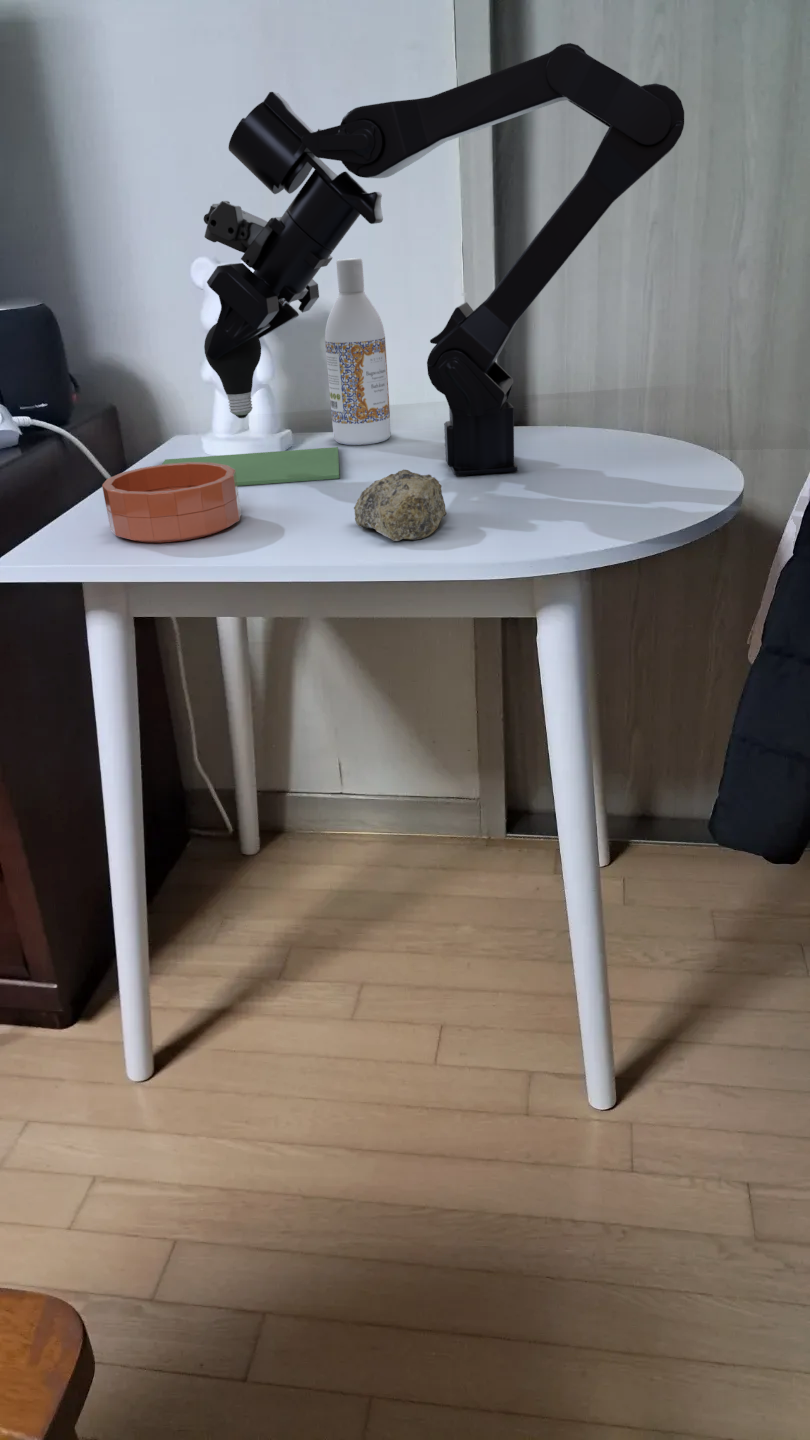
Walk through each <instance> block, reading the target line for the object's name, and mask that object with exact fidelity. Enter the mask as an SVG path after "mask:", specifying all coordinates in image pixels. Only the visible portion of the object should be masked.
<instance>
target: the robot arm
mask: <svg viewBox="0 0 810 1440" xmlns="http://www.w3.org/2000/svg"><path fill="white" fill-rule="evenodd" d="M562 101H567V102H570V103H571V104H572V105H574V106H575V107H577V108H578V109H580V110H582V111H583V112H585V113H586V114H587V115H589V116H591V117H592V118H594V119H595V120H597V121H599V122H600V123H602V124H603V125H605V126H606V127H608V129H607V131H606V132H605V134H604V136H603V138H602V140H601V141H600V143H599V145H598V147H597V149H596V151H595V153H594V154H593V157H592V159H591V160H590V163H589V164H588V166H587V168H586V170H585V172H584V174H583V176H582V177H580V179H579V180H578V182H577V183H576V184H575V185H574V187H573V188H572V190H571V191H570V192H569V193H568V195H567V196H566V197H565V198H564V200H563V201H562V202H561V203H560V205H559V206H558V207H557V209H556V210H555V211H554V212H553V214H552V215H551V216H550V217H549V219H548V220H547V221H546V223H545V224H544V225H543V227H542V228H541V229H540V230H539V231H538V233H536V235H535V237H534V238H533V239H532V240H531V242H530V243H529V244H528V246H526V249H524V251H523V252H522V253H521V254H520V256H519V257H518V259H516V261H515V263H514V264H513V265H512V266H511V267H510V269H509V270H508V271H507V273H506V274H505V275H504V276H503V277H502V279H501V280H500V282H499V283H498V284H497V285H496V286H495V288H494V289H493V290H492V291H491V292H490V294H489V295H488V297H487V298H486V299H485V300H484V301H483V302H482V303H481V304H480V305H479V306H478V307H476V308H475V309H473V308H472V307H471V306H470V304H469V303H468V301H464V302H463V303H461V304H460V305H458V306H456V307H455V308H454V310H453V312H452V313H451V315H450V317H449V320H447V323H446V324H445V326H444V328H443V329H442V330H441V331H440V332H439V333H438V334H436V335H435V336H434V337H433V338H431V339H430V340H429V343H430V344H433V345H434V346H433V347H432V348H431V350H430V352H429V355H428V356H427V361H426V368H427V375H428V378H429V382H430V383H431V385H432V386H433V387H434V388H435V390H437V391H438V392H439V393H440V394H442V395H444V397H445V399H446V402H447V404H448V412H449V415H448V416H449V421H445V422H444V423H443V426H444V429H443V431H444V451H445V453H444V454H445V462H446V465H447V466H448V467H449V468H450V469H451V470H452V472H453V475H454V476H470V475H471V476H472V475H483V474H497V473H508V472H509V473H511V472H518V469H519V467H518V464H517V463H516V461H515V417H514V416H515V407H514V406H513V405H512V404H511V403H510V402H508V401H507V400H508V399H509V397H510V394H511V391H512V388H513V386H514V382H515V381H514V378H513V377H512V376H511V375H510V374H509V373H508V372H507V371H506V370H505V369H504V368H503V367H502V366H501V365H500V364H499V363H498V362H497V360H498V358H499V355H500V354H501V352H502V351H503V349H504V347H505V345H506V343H507V341H508V340H509V338H510V336H511V333H512V332H513V330H514V329H515V326H516V324H517V322H518V321H519V320H520V318H521V317H522V316H523V315H524V313H526V311H527V310H528V308H529V307H530V306H531V305H532V304H533V302H534V301H535V300H536V299H537V298H538V297H539V295H540V293H541V292H543V290H544V289H545V288H546V286H547V285H548V284H549V283H550V281H551V280H552V279H553V278H554V276H555V275H556V274H557V272H558V271H559V270H560V269H561V268H562V266H563V265H564V264H565V263H566V261H567V260H568V259H569V257H571V255H572V254H573V253H574V251H576V249H577V248H578V246H579V245H580V244H581V243H582V241H583V240H584V239H585V238H586V237H587V236H588V234H589V233H590V231H592V230H593V228H594V227H595V225H596V224H597V223H599V221H600V220H601V218H602V217H603V216H604V215H605V213H606V212H607V211H608V209H609V208H610V207H611V206H612V204H613V203H614V202H615V201H617V199H618V198H620V197H621V196H622V195H623V194H624V193H625V192H626V191H628V190H629V189H630V188H632V186H633V185H635V183H637V182H638V181H639V180H640V179H641V178H642V177H643V176H645V174H647V173H648V172H649V171H650V170H651V169H652V168H653V167H655V165H657V164H658V163H659V162H660V161H661V160H662V159H663V158H664V157H665V156H666V155H668V154H669V153H670V152H671V151H672V150H673V149H674V148H675V146H676V144H677V142H678V141H679V140H680V138H681V136H682V133H683V130H684V127H685V110H684V106H683V103H682V100H681V98H680V97H679V95H677V93H676V91H675V90H673V89H671V88H670V87H669V86H667V85H665V84H660V83H650V84H644V85H639V84H637V82H635V81H633V80H632V79H630V78H628V77H627V76H625V75H623V74H622V73H620V72H619V71H617V70H615V69H613V68H611V67H610V66H608V65H606V64H604V63H602V62H601V61H599V60H597V59H595V58H594V57H592V56H591V55H589V54H588V53H587V52H586V51H585V49H584V48H583V47H581V46H580V45H579V44H576V43H571V42H569V43H561V44H560V45H557V46H556V47H555V48H554V49H551V51H549V52H547V53H544V54H542V55H539V56H536V57H534V58H531V59H528V60H525V61H523V62H520V63H517V64H514V65H512V66H509V67H507V68H504V69H502V70H499V71H496V72H493V73H491V74H488V75H485V76H483V77H480V78H477V79H473V80H472V81H469V82H466V83H464V84H461V85H458V86H455V87H453V88H451V89H447V90H445V91H442V92H439V93H437V94H434V95H431V96H427V97H421V98H414V99H403V100H393V101H386V102H380V103H373V104H368V105H367V104H366V105H362V106H357V107H354V108H353V109H351V110H350V111H348V112H347V113H346V114H345V115H344V116H343V117H342V119H341V122H340V124H339V125H336V126H332V127H331V126H330V127H328V128H323V129H322V128H318V129H317V130H316V131H314V130H313V129H312V128H311V127H310V126H309V125H308V124H307V123H306V122H305V121H304V120H303V119H302V118H301V117H300V116H299V115H298V114H297V113H296V112H295V111H294V109H292V107H291V106H290V104H289V103H288V101H287V100H286V99H285V98H284V97H283V96H282V95H281V94H280V93H279V92H275V91H269V92H268V94H267V95H266V97H265V99H263V101H261V102H260V103H259V104H257V105H256V106H255V107H253V109H252V110H251V111H250V112H249V113H248V114H247V115H246V117H242V118H241V119H240V121H239V122H238V123H237V125H236V127H235V129H234V131H233V132H232V134H231V137H230V139H229V143H228V148H227V149H228V151H229V152H230V153H231V154H232V155H233V156H234V158H236V159H237V160H238V162H240V163H242V164H243V166H244V167H245V168H246V169H248V171H249V172H250V173H252V175H254V176H255V177H256V178H257V179H258V180H259V181H260V182H261V183H262V184H263V185H264V187H266V188H267V189H268V190H269V191H270V192H271V193H272V194H273V195H277V194H279V193H281V192H282V191H283V190H285V192H286V193H287V194H290V195H291V194H293V193H294V192H296V191H297V190H298V189H299V187H301V186H302V185H303V186H302V187H301V188H300V190H299V192H298V193H297V194H296V196H295V197H294V198H293V199H292V201H291V203H290V204H289V205H288V207H287V208H286V209H285V211H284V213H283V214H282V216H275V217H270V218H269V220H268V221H267V220H265V219H263V218H261V217H259V216H257V215H254V214H252V213H250V212H248V211H245V210H243V209H242V207H241V206H240V205H234V204H232V203H230V201H229V200H221V201H220V202H219V203H212V204H211V205H210V207H209V211H208V212H207V213H206V214H204V215H203V222H204V224H206V229H205V232H204V238H205V239H206V240H208V241H209V242H212V243H220V244H222V245H224V246H226V247H228V248H231V249H233V250H236V251H237V252H240V253H244V254H242V256H241V257H240V260H241V261H242V262H238V263H227V264H222V265H217V266H216V268H215V269H214V271H213V272H212V273H211V275H210V276H209V278H208V279H207V280H206V283H207V285H208V287H209V288H210V289H211V290H212V291H213V292H214V293H215V294H216V295H217V296H218V298H219V303H220V311H219V315H218V319H217V321H216V323H217V324H216V323H215V324H216V327H215V330H214V333H213V336H212V338H211V341H210V344H209V347H208V350H207V356H208V357H210V358H211V359H212V360H213V361H216V360H217V359H219V358H221V357H222V356H224V355H226V354H227V353H229V352H230V351H232V350H234V349H235V348H237V347H238V346H240V345H242V344H243V343H245V342H246V341H248V340H249V339H251V338H253V337H254V336H256V335H258V338H259V340H260V339H261V338H264V337H265V336H267V335H269V334H271V333H272V332H274V331H275V330H277V329H278V328H280V327H282V326H284V325H286V324H288V323H289V322H290V321H293V320H295V319H297V318H298V317H299V316H300V314H299V312H298V311H297V310H299V311H300V312H301V313H302V314H303V313H306V312H308V311H310V310H311V309H312V307H313V306H314V304H316V302H317V301H318V300H319V298H320V291H319V290H320V289H319V284H318V282H317V281H316V280H314V277H315V276H316V275H317V273H318V272H319V271H320V270H321V268H323V267H327V266H328V265H329V264H330V263H331V261H332V260H333V256H332V253H333V252H334V251H335V250H336V248H337V246H338V245H339V244H340V242H341V241H342V240H343V238H344V237H345V236H346V235H347V233H348V232H349V230H350V229H351V228H352V226H353V225H354V224H355V223H356V221H357V220H358V218H359V217H360V215H361V217H362V218H364V219H365V221H367V222H368V223H369V224H370V225H375V224H376V225H377V224H381V223H382V222H383V221H384V216H383V210H382V196H383V194H382V192H380V191H372V192H368V191H367V190H366V189H365V188H364V187H363V185H361V184H360V183H359V182H358V181H357V180H356V179H355V178H354V176H352V175H351V174H350V173H352V174H353V175H355V176H356V177H359V178H363V179H365V178H366V179H386V178H389V177H392V176H394V175H395V174H397V173H398V172H400V171H402V170H404V169H405V168H408V167H409V166H411V165H413V164H414V163H416V162H417V161H419V160H421V159H422V158H424V157H425V156H427V155H428V154H430V153H431V152H432V151H433V150H435V149H436V148H438V147H440V146H442V145H444V144H445V143H447V142H449V141H452V140H455V139H458V138H460V137H464V136H466V135H470V134H473V133H475V132H477V131H480V130H483V129H485V128H488V127H492V126H494V125H497V124H500V123H503V122H505V121H508V120H511V119H514V118H517V117H520V116H522V115H525V114H528V113H530V112H533V111H536V110H539V109H542V108H545V107H548V106H551V105H553V104H556V103H559V102H562ZM322 159H325V160H330V161H331V160H332V161H338V162H341V164H343V166H344V167H345V168H346V170H348V171H346V170H345V171H343V172H342V171H341V172H340V173H339V174H337V173H336V172H334V170H332V169H331V168H330V167H329V166H328V165H327V164H326V163H325V162H324V161H323V160H322ZM313 169H314V170H313ZM312 170H313V171H312ZM311 171H312V173H311ZM349 172H350V173H349ZM310 173H311V174H310ZM309 175H310V176H309ZM308 176H309V177H308ZM306 179H307V180H306ZM250 268H251V269H253V271H252V270H251V269H250ZM297 301H299V302H300V304H299V306H298V309H297V310H296V309H295V308H294V307H293V306H292V305H291V303H292V302H297Z"/></svg>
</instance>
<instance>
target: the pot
mask: <svg viewBox="0 0 810 1440" xmlns="http://www.w3.org/2000/svg"><path fill="white" fill-rule="evenodd" d="M101 485H102V486H101V487H102V492H103V499H104V504H105V508H106V514H107V519H108V524H109V525H108V526H109V530H110V531H111V532H112V533H113V534H114V535H115V537H119V538H123V539H126V540H130V541H133V542H140V543H154V544H156V543H159V544H160V543H173V542H176V543H177V542H183V541H190V540H194V539H195V540H196V539H199V538H204V537H209V536H211V535H214V534H217V533H219V532H222V531H224V530H226V529H227V528H229V527H232V526H233V525H234V524H236V523H238V522H239V521H240V519H241V515H242V510H241V503H240V502H241V501H240V494H239V488H238V487H239V486H237V478H236V471H235V469H233V468H231V467H229V466H228V465H223V464H217V463H207V462H185V463H172V464H163V463H162V464H156V465H151V466H150V465H149V466H144V467H139V468H134V469H131V470H128V471H123V472H120V473H118V474H115V475H113V476H111V477H109V478H107V479H106V480H105V481H104V482H103V483H102V484H101Z"/></svg>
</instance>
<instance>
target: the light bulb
mask: <svg viewBox="0 0 810 1440" xmlns="http://www.w3.org/2000/svg"><path fill="white" fill-rule="evenodd" d="M216 324H217V322H216V323H215V324H214V325H212V326H211V328H209V330H208V332H207V333H206V335H205V339H204V346H203V349H204V355H205V359H206V361H207V362H208V365H209V366H210V367H211V369H212V370H213V371H214V372H215V373H216V375H217V376H218V378H219V380H220V381H221V384H222V388H223V389H224V392H225V395H226V396H227V400H228V409H229V412H230V413H231V414H233V415H234V416H236V417H237V418H238V419H246V417H248V415H249V414H250V413H251V412H252V410H253V401H252V390H253V382H254V381H253V379H254V375H255V371H256V370H257V369H256V368H257V367H258V365H259V363H260V360H261V357H262V345H261V340H260V339H259V338H258V335H256V336H254V337H253V338H251V339H249V340H248V341H246V342H245V343H243V344H242V345H240V346H238V347H237V348H235V349H234V350H232V351H230V352H229V353H227V354H226V355H224V356H222V357H221V358H219V359H217V360H216V361H213V360H212V359H211V358H210V357H208V356H207V350H208V347H209V344H210V341H211V338H212V336H213V333H214V330H215V327H216Z"/></svg>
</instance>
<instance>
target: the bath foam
mask: <svg viewBox="0 0 810 1440" xmlns="http://www.w3.org/2000/svg"><path fill="white" fill-rule="evenodd" d="M335 263H336V275H337V289H338V296H337V298H336V300H335V301H334V303H333V305H332V308H331V309H330V312H329V315H328V317H327V320H326V324H325V330H324V331H325V332H324V344H325V356H326V367H327V379H328V391H329V400H330V413H331V422H332V423H331V424H332V434H333V435H332V436H333V440H334V441H335V442H336V443H338V444H341V445H347V446H364V445H374V444H378V443H382V442H386V441H387V440H388V439H389V438H390V437H391V435H392V429H391V427H392V426H391V410H390V397H389V396H390V395H389V378H388V377H389V376H388V362H387V346H386V345H387V344H386V334H385V330H384V329H385V328H384V324H383V322H382V319H381V316H380V315H379V312H378V311H377V309H376V308H375V306H374V305H373V303H372V302H371V300H370V299H369V297H368V296H367V294H366V293H365V279H364V278H365V277H364V265H363V263H364V262H363V258H362V257H350V258H338V259H337V260H336V262H335Z"/></svg>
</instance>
